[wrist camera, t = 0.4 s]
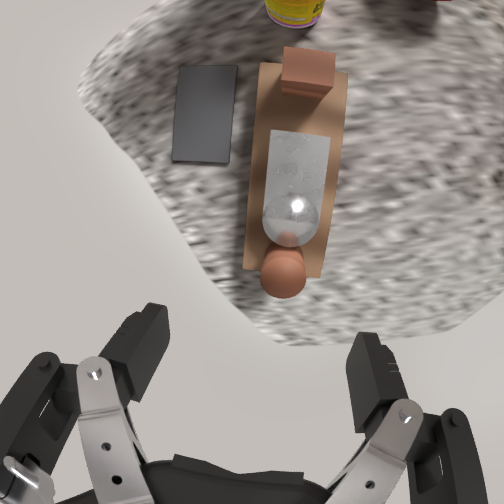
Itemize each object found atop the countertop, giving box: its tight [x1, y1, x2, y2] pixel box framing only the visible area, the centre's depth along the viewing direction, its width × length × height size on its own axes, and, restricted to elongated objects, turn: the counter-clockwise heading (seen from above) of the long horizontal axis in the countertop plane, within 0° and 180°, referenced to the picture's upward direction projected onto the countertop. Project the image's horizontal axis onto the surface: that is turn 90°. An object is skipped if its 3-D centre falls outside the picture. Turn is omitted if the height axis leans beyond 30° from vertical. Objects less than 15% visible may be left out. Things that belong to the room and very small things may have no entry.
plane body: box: [243, 46, 348, 299], centre depth 26 cm, size 23×9×11 cm, turn 175°
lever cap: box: [262, 130, 331, 247], centre depth 26 cm, size 11×5×4 cm, turn 175°
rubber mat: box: [172, 65, 238, 163], centre depth 29 cm, size 12×7×1 cm, turn 175°
